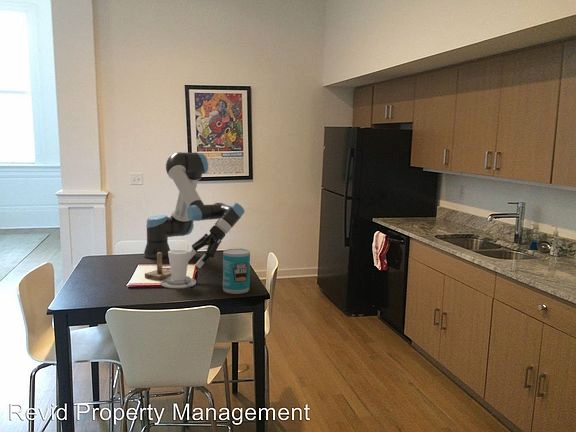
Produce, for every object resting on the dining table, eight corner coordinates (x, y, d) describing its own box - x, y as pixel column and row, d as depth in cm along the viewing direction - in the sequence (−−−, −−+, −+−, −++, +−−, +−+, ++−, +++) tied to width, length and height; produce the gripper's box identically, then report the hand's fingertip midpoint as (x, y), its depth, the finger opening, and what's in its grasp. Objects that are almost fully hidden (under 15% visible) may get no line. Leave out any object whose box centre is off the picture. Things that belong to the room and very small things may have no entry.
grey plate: (154, 283, 222) (153, 278, 222) (181, 277, 235) (181, 272, 234) (175, 291, 212) (175, 285, 212) (203, 283, 225) (203, 278, 224)
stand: (144, 277, 232) (144, 253, 230) (159, 273, 241) (159, 249, 239) (160, 280, 227) (159, 256, 226) (174, 276, 236) (174, 252, 234)
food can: (243, 295, 209) (243, 255, 206) (218, 292, 213) (218, 252, 210) (253, 288, 220) (254, 249, 218) (229, 285, 224) (230, 247, 221)
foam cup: (186, 281, 218) (186, 254, 216) (166, 281, 219) (166, 253, 217) (191, 276, 228) (191, 249, 226) (171, 275, 228) (171, 248, 226)
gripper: (237, 239, 224) (208, 274, 217) (213, 230, 244) (186, 262, 238) (227, 228, 220) (197, 264, 214) (204, 221, 240) (176, 253, 234)
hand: (191, 263), depth 226 cm, fingers open, 13 cm apart
